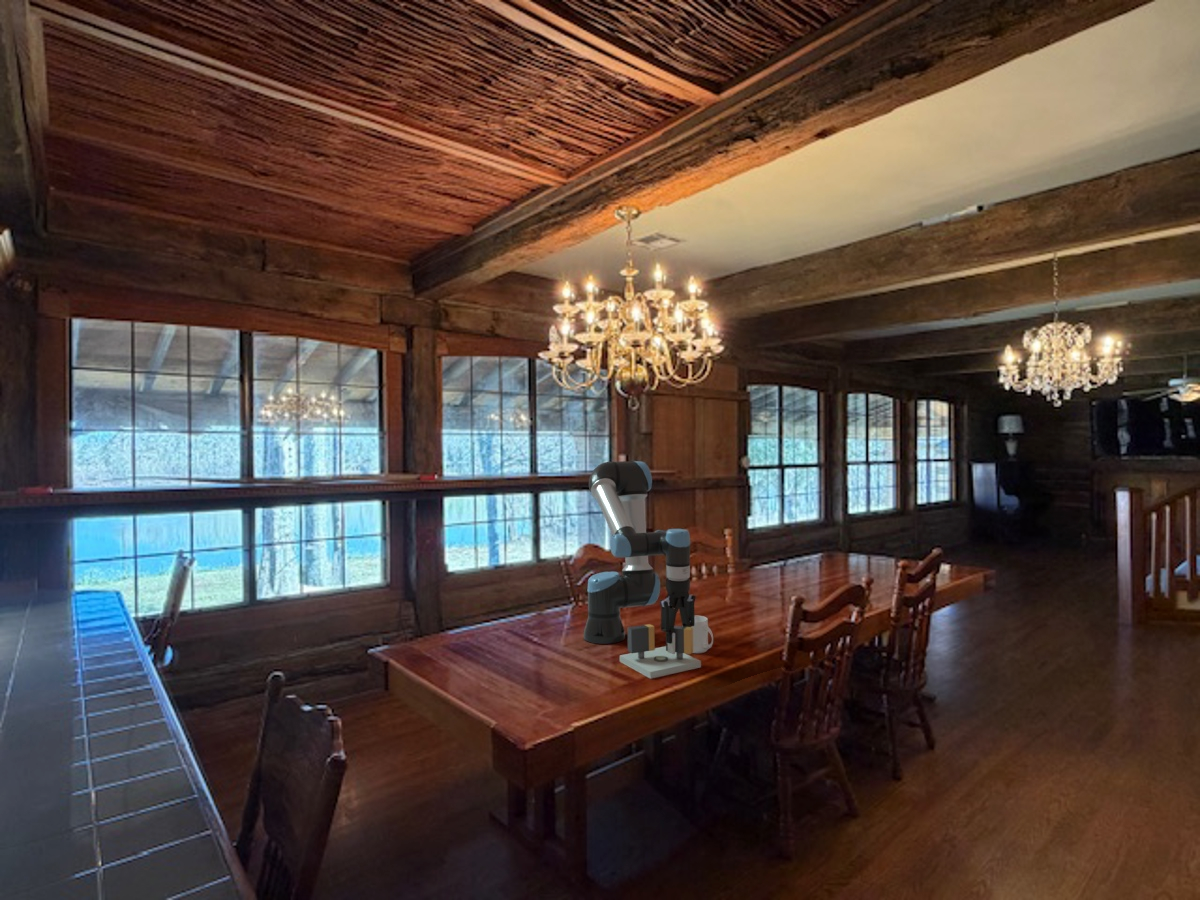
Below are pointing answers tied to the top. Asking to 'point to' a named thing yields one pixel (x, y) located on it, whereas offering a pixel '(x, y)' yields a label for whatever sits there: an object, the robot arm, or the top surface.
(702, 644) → the mug
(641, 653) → the knob
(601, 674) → the top surface
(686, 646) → the knob
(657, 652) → the base plate
